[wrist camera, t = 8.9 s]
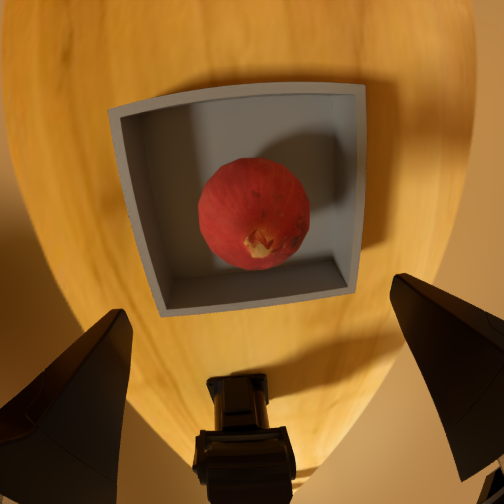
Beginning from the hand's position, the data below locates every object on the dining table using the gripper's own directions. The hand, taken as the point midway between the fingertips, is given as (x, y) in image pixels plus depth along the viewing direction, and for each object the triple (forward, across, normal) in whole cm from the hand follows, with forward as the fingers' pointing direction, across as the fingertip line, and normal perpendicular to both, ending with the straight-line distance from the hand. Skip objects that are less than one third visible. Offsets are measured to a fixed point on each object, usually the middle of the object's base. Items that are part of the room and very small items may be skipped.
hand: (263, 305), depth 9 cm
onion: (+11, 0, 0) cm, 11 cm away
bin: (+12, 0, 0) cm, 12 cm away
